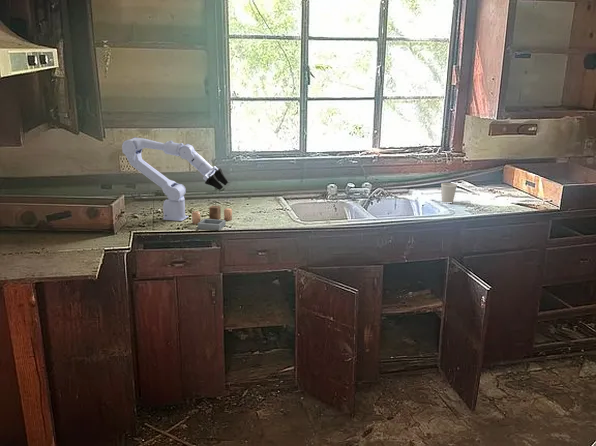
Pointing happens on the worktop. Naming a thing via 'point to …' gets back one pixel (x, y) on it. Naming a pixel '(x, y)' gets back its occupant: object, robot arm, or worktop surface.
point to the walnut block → (215, 212)
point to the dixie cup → (448, 191)
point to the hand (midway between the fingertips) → (224, 186)
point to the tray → (211, 224)
